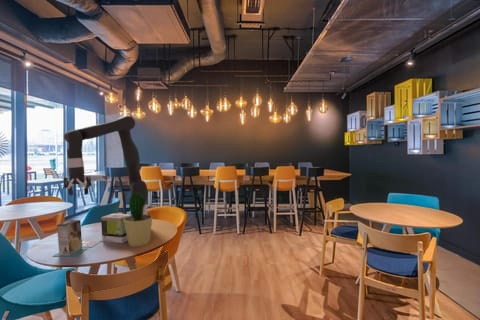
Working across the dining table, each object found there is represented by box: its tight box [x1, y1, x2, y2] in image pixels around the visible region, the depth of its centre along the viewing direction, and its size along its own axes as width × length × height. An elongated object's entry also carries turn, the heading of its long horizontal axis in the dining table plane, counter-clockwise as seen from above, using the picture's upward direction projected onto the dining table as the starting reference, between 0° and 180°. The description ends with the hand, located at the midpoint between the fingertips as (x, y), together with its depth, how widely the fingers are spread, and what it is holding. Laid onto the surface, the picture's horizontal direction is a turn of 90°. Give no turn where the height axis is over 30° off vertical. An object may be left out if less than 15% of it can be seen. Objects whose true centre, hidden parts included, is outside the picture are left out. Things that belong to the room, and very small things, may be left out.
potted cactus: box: [124, 192, 153, 248], centre depth 152 cm, size 15×15×30 cm
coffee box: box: [56, 219, 83, 255], centre depth 141 cm, size 9×6×16 cm
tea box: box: [100, 212, 132, 244], centre depth 159 cm, size 15×10×15 cm, turn 71°
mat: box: [52, 247, 89, 258], centre depth 141 cm, size 12×10×1 cm
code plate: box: [82, 240, 102, 248], centre depth 153 cm, size 16×10×1 cm, turn 87°
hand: (78, 194), depth 150 cm, fingers open, 8 cm apart
